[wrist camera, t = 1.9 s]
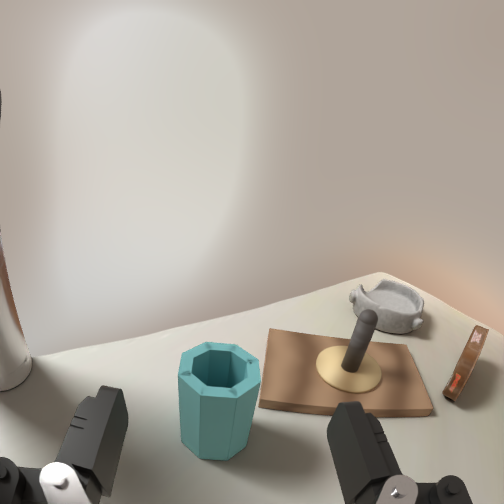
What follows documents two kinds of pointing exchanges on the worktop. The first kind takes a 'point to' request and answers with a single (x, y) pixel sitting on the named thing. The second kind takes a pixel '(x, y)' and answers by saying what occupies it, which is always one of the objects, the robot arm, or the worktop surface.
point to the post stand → (341, 373)
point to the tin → (466, 363)
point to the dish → (390, 306)
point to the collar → (217, 399)
